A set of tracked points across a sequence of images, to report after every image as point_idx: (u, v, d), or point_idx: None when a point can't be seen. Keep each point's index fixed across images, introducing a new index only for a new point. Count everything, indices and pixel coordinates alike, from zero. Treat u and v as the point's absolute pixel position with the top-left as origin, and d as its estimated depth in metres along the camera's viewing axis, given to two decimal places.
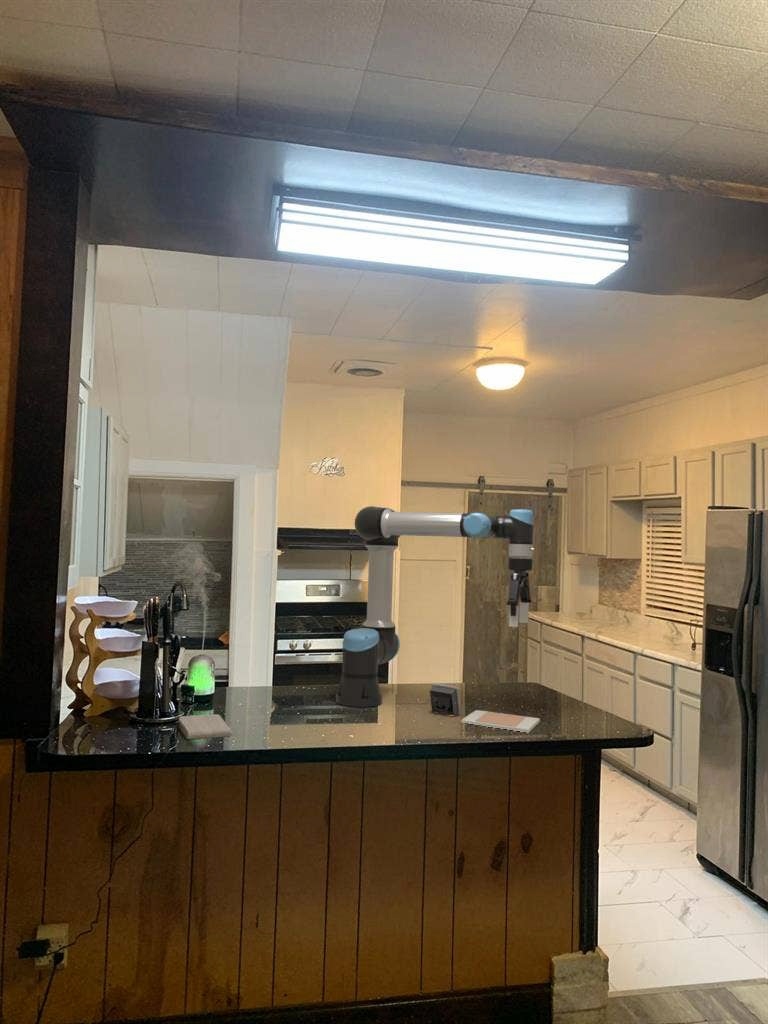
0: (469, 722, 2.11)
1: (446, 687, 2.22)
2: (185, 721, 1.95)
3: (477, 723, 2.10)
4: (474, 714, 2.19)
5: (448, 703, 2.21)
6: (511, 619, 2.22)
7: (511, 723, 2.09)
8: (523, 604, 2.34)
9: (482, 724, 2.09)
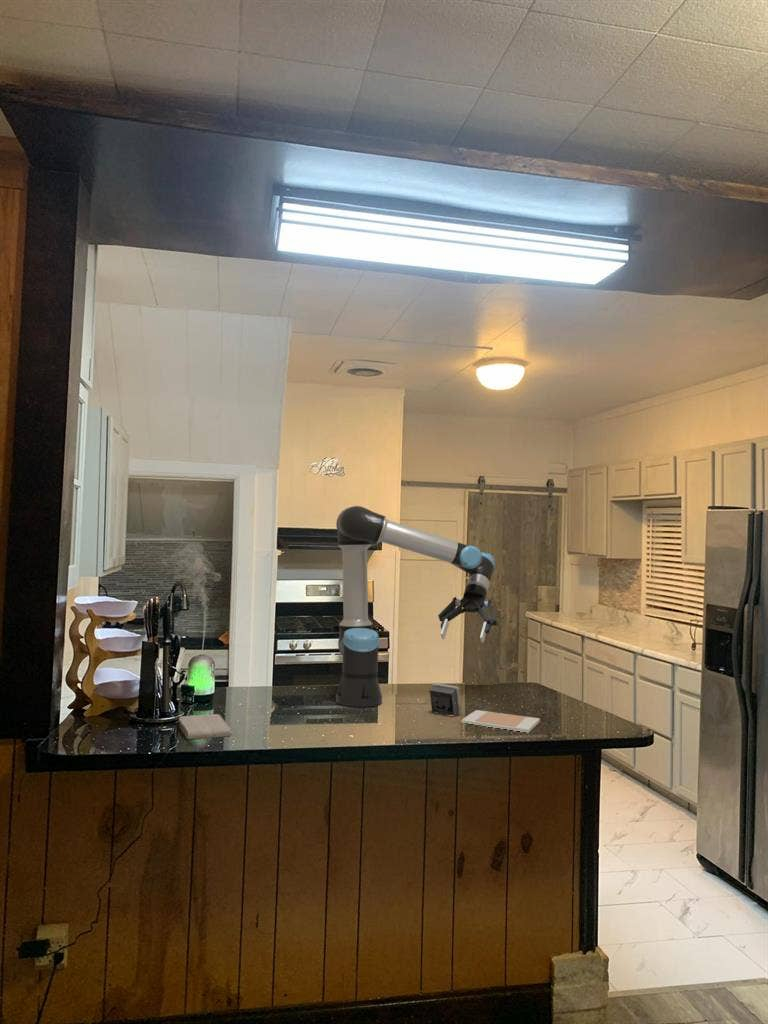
0: (469, 722, 2.11)
1: (446, 687, 2.22)
2: (185, 721, 1.95)
3: (477, 723, 2.10)
4: (474, 714, 2.19)
5: (448, 703, 2.21)
6: (484, 633, 2.34)
7: (511, 723, 2.09)
8: (447, 622, 2.42)
9: (482, 724, 2.09)
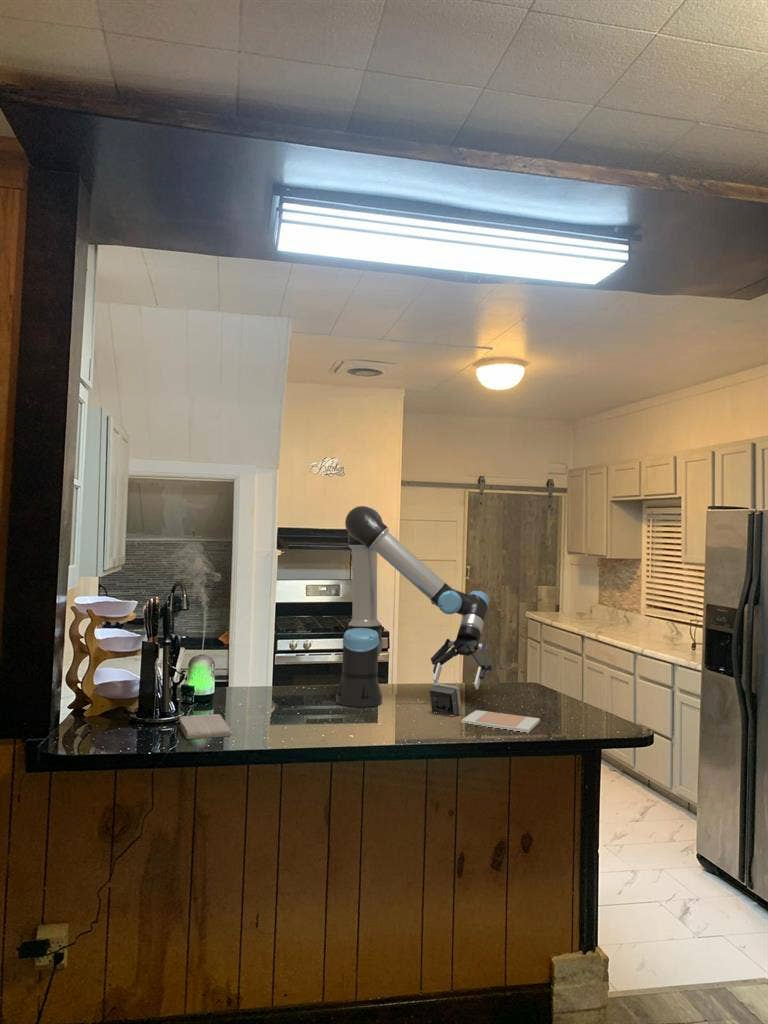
0: (469, 722, 2.11)
1: (446, 687, 2.22)
2: (185, 721, 1.95)
3: (477, 723, 2.10)
4: (474, 714, 2.19)
5: (448, 703, 2.21)
6: (478, 679, 2.25)
7: (511, 723, 2.09)
8: (440, 666, 2.33)
9: (482, 724, 2.09)
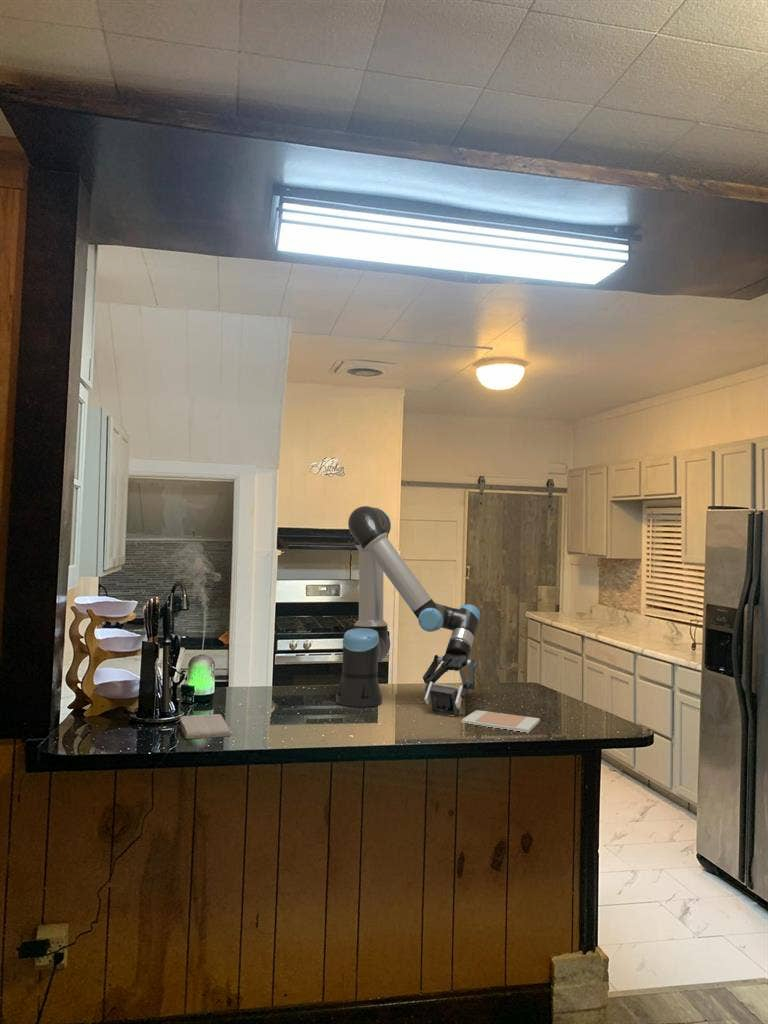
0: (469, 722, 2.11)
1: (446, 687, 2.22)
2: (185, 721, 1.95)
3: (477, 723, 2.10)
4: (474, 714, 2.19)
5: (449, 703, 2.21)
6: (459, 698, 2.19)
7: (511, 723, 2.09)
8: None
9: (482, 724, 2.09)
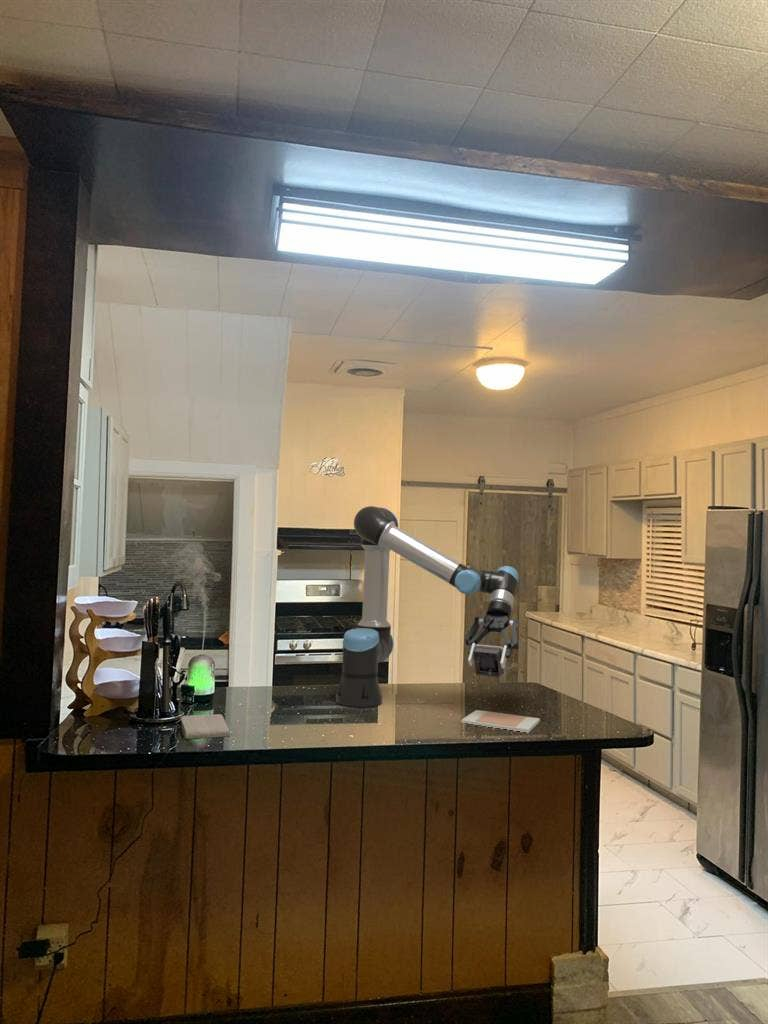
0: (469, 722, 2.11)
1: (490, 647, 2.17)
2: (186, 720, 1.95)
3: (477, 723, 2.10)
4: (474, 714, 2.19)
5: (493, 663, 2.16)
6: (504, 658, 2.14)
7: (511, 723, 2.09)
8: None
9: (482, 724, 2.09)
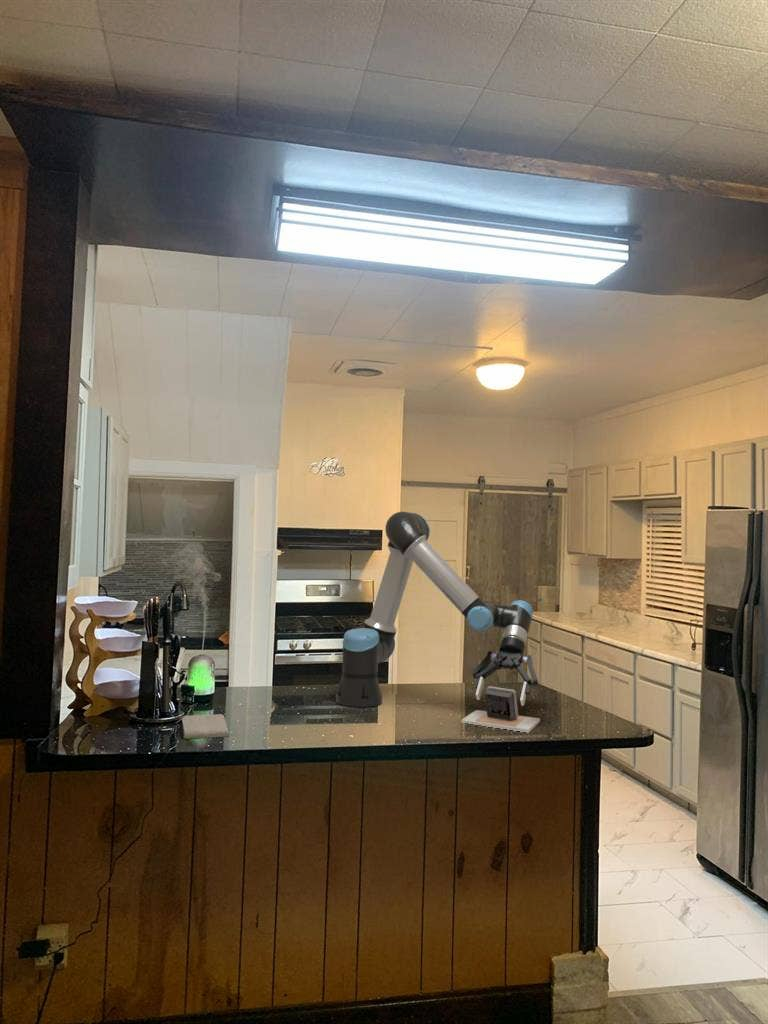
0: (469, 722, 2.11)
1: (502, 690, 2.14)
2: (186, 720, 1.96)
3: (477, 723, 2.10)
4: (474, 714, 2.19)
5: (505, 707, 2.13)
6: (524, 695, 2.11)
7: (511, 723, 2.09)
8: (483, 680, 2.19)
9: (482, 724, 2.09)
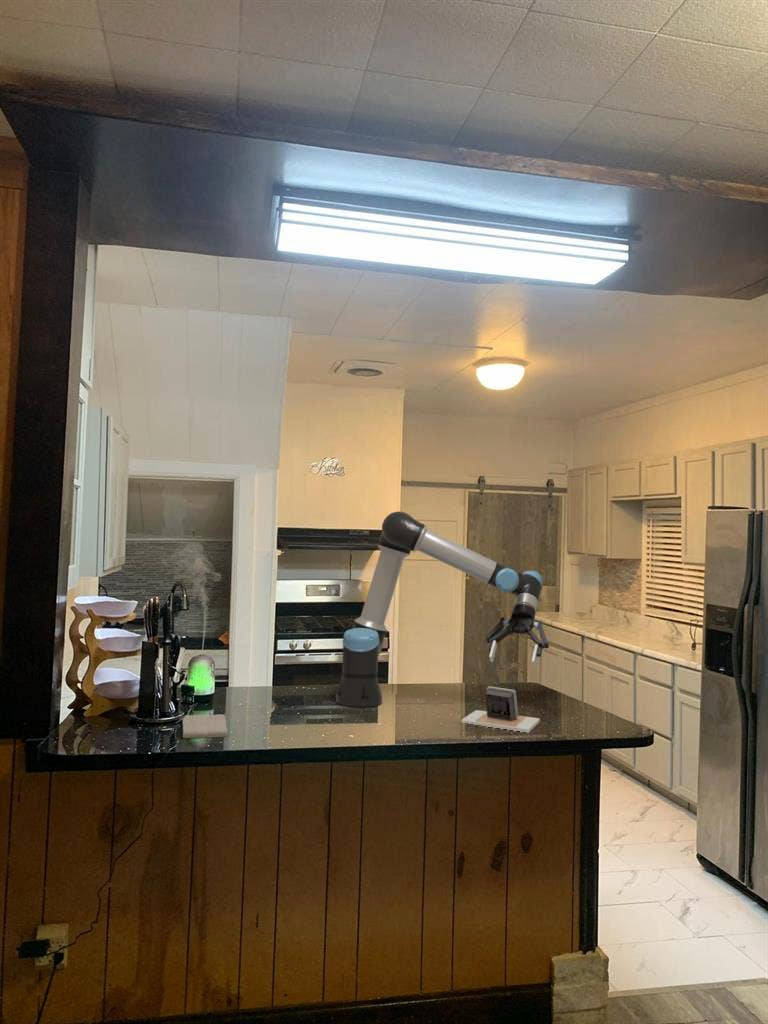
0: (469, 722, 2.11)
1: (502, 690, 2.14)
2: (186, 720, 1.96)
3: (477, 723, 2.10)
4: (474, 714, 2.19)
5: (505, 707, 2.13)
6: (535, 656, 2.24)
7: (511, 723, 2.09)
8: (496, 644, 2.32)
9: (482, 724, 2.09)
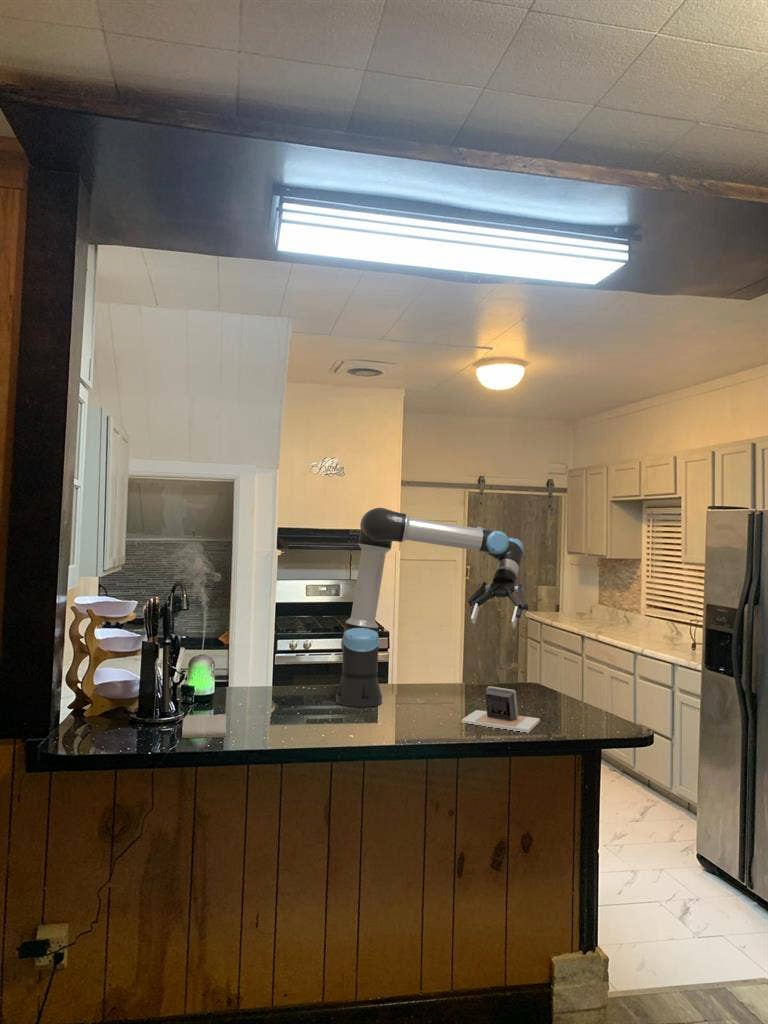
0: (469, 722, 2.11)
1: (502, 690, 2.14)
2: (187, 720, 1.96)
3: (477, 723, 2.10)
4: (474, 714, 2.19)
5: (505, 707, 2.13)
6: (515, 617, 2.32)
7: (511, 723, 2.09)
8: (477, 607, 2.40)
9: (482, 724, 2.09)
